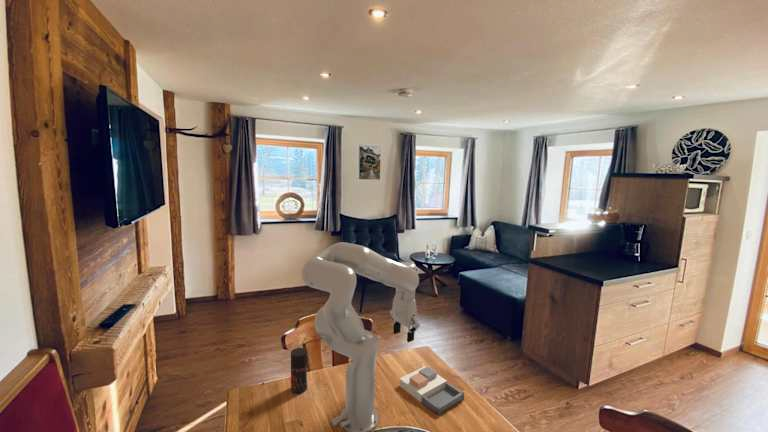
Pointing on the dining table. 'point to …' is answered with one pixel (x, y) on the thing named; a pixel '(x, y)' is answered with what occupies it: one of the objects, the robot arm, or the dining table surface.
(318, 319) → the robot arm
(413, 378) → the terracotta tile
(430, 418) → the dining table surface
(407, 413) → the dining table surface
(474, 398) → the dining table surface
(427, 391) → the board
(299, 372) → the deodorant
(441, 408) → the tray
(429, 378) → the slate tile
